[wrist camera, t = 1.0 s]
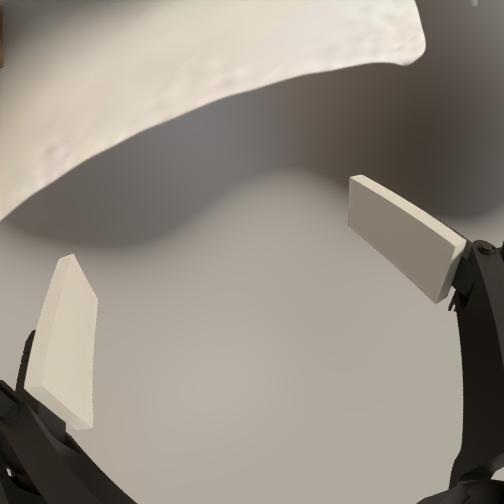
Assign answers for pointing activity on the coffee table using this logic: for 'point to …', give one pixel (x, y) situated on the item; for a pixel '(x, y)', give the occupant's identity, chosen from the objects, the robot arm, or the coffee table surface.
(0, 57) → the hole block
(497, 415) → the robot arm
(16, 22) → the coffee table surface
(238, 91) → the coffee table surface
